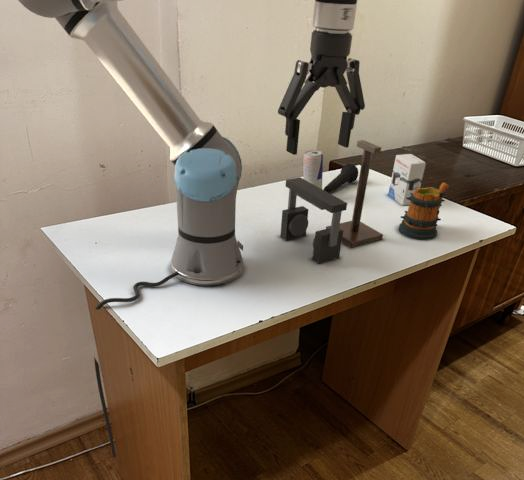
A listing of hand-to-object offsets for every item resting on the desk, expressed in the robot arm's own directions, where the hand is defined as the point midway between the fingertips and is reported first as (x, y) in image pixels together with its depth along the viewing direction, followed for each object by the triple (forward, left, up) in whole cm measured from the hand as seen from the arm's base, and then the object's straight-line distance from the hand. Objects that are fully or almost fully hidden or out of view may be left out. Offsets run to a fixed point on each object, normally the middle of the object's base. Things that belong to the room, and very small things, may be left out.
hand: (318, 149), depth 107 cm
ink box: (+43, +12, -23) cm, 50 cm away
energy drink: (+20, +25, -22) cm, 39 cm away
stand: (+14, 0, -22) cm, 27 cm away
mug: (+32, -6, -23) cm, 40 cm away
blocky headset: (0, 0, -22) cm, 22 cm away
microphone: (+31, +28, -23) cm, 48 cm away
